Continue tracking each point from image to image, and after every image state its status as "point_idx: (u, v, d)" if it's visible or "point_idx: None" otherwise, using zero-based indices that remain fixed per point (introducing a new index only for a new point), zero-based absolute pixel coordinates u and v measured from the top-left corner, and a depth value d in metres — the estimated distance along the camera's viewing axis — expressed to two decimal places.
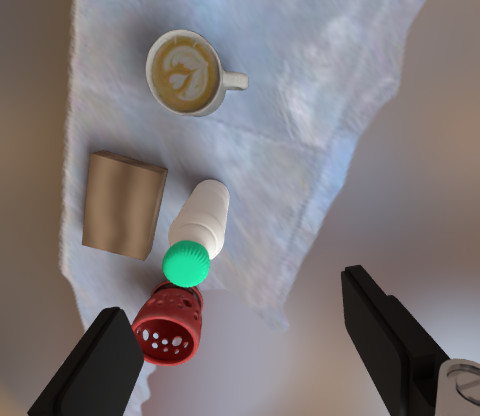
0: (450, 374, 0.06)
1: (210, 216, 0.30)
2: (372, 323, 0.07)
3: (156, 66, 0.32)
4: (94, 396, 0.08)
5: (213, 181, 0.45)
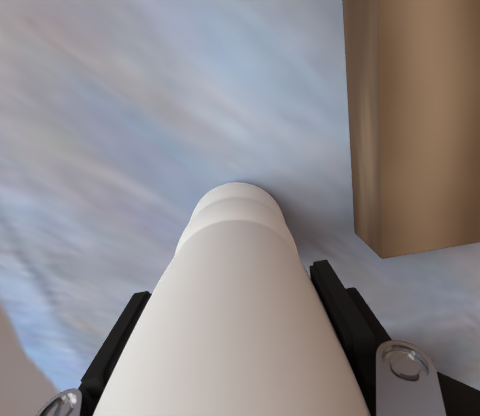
0: (387, 354, 0.06)
1: None
2: (329, 311, 0.08)
3: None
4: None
5: None
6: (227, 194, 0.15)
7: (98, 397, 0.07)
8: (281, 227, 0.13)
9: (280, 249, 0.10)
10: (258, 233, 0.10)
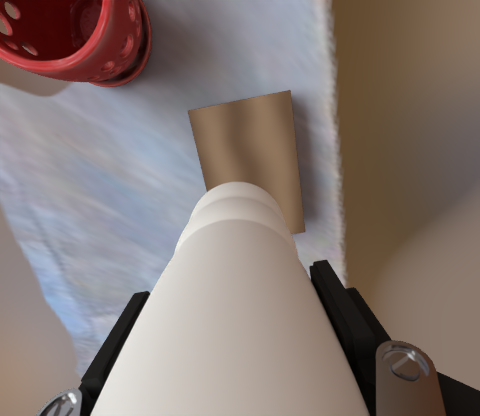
0: (387, 354, 0.06)
1: None
2: (329, 311, 0.08)
3: None
4: None
5: None
6: (227, 193, 0.15)
7: (98, 397, 0.07)
8: (280, 226, 0.12)
9: (279, 248, 0.09)
10: (257, 232, 0.10)
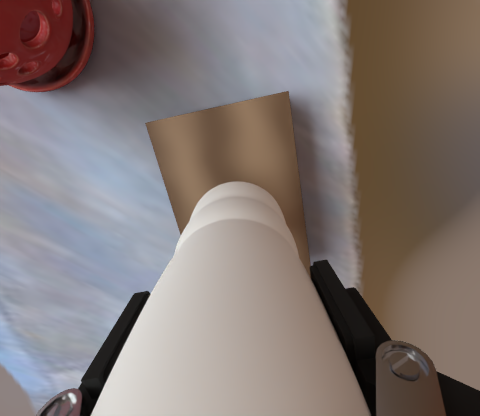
0: (387, 353, 0.06)
1: None
2: (329, 311, 0.08)
3: None
4: None
5: None
6: (227, 193, 0.15)
7: (98, 397, 0.07)
8: (281, 226, 0.12)
9: (279, 247, 0.09)
10: (258, 231, 0.10)
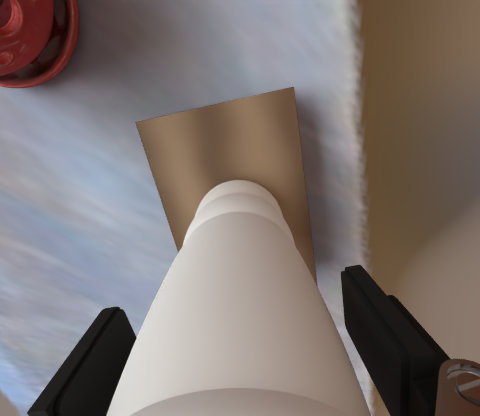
0: (450, 374, 0.06)
1: None
2: (372, 323, 0.07)
3: None
4: (94, 396, 0.08)
5: None
6: (230, 190, 0.17)
7: None
8: (279, 218, 0.14)
9: (277, 235, 0.11)
10: (258, 221, 0.12)
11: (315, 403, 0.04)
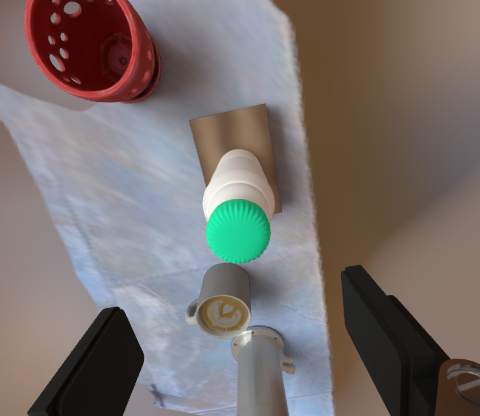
0: (450, 374, 0.06)
1: None
2: (372, 323, 0.07)
3: (244, 309, 0.44)
4: (94, 396, 0.08)
5: None
6: (235, 152, 0.36)
7: None
8: (255, 160, 0.33)
9: (252, 161, 0.30)
10: (246, 157, 0.31)
11: None
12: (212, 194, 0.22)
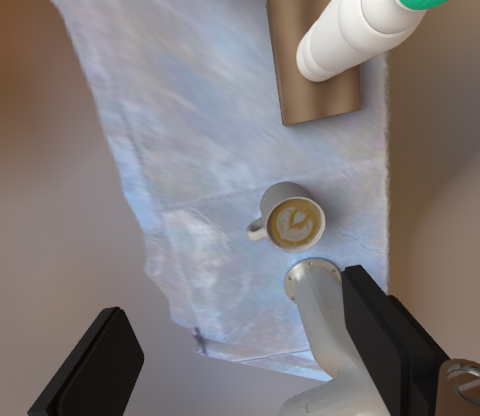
0: (450, 374, 0.06)
1: (372, 51, 0.21)
2: (372, 323, 0.07)
3: (317, 218, 0.41)
4: (94, 396, 0.08)
5: None
6: None
7: None
8: None
9: None
10: None
11: None
12: None
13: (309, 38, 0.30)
